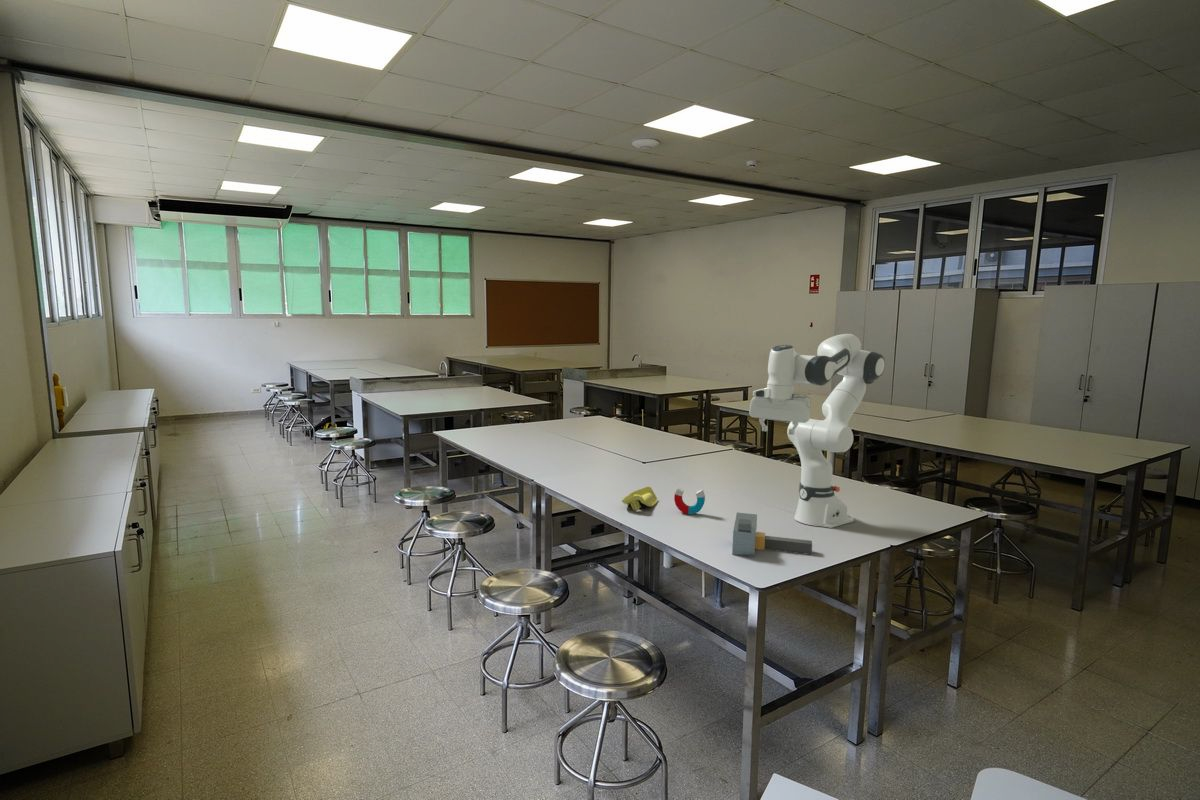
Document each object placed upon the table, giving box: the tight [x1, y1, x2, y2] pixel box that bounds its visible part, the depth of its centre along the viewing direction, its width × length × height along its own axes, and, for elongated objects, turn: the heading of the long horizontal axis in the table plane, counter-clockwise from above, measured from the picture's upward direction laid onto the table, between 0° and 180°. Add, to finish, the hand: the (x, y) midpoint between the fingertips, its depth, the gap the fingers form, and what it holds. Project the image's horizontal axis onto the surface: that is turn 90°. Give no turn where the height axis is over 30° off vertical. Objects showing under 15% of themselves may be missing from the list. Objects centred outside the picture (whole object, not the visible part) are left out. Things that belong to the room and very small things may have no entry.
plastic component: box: [621, 486, 659, 511], centre depth 246 cm, size 20×7×10 cm
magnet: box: [673, 486, 706, 515], centre depth 237 cm, size 12×3×10 cm, turn 73°
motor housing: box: [731, 512, 758, 558], centre depth 204 cm, size 7×20×10 cm, turn 164°
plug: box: [755, 531, 813, 555], centre depth 202 cm, size 21×4×4 cm, turn 74°
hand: (777, 432), depth 208 cm, fingers open, 8 cm apart
